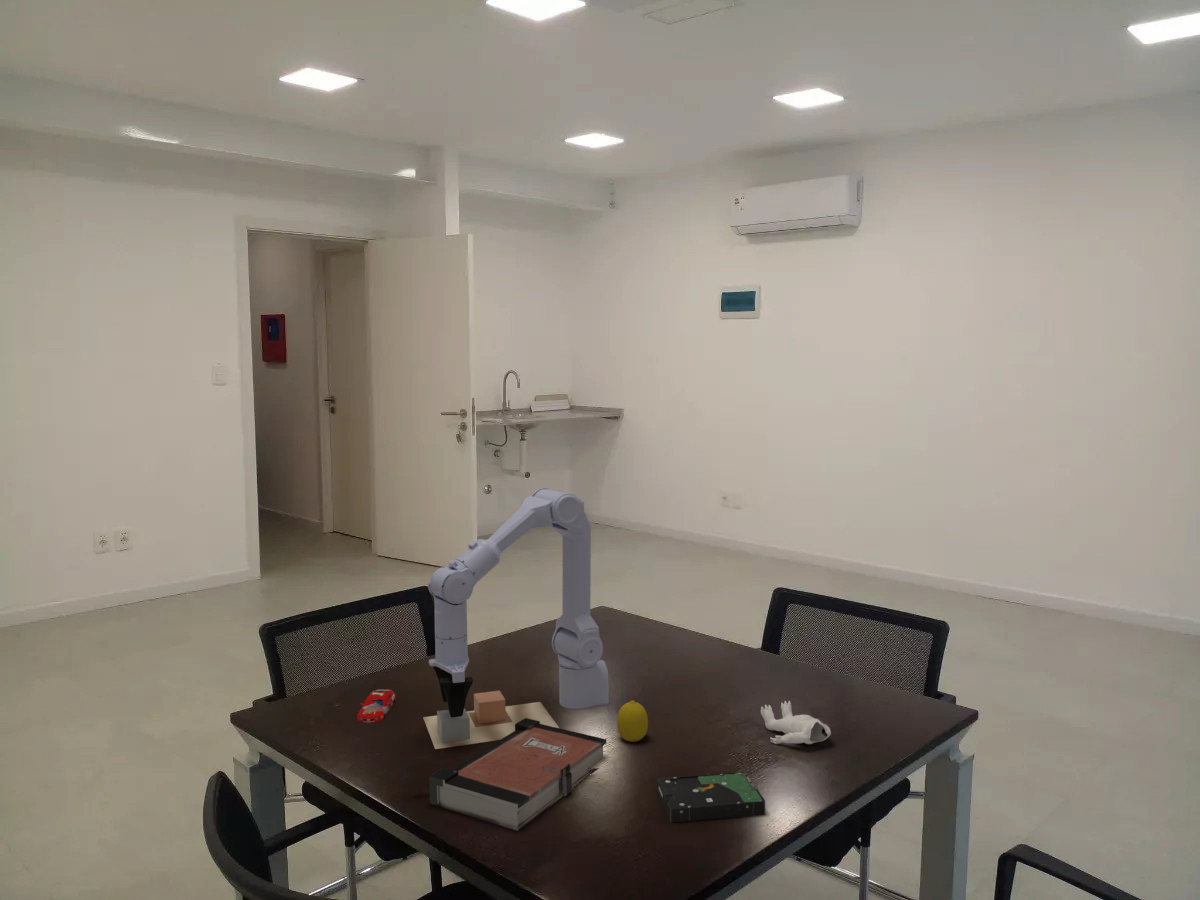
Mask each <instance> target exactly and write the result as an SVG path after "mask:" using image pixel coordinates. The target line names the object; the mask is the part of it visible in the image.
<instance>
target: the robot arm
mask: <svg viewBox="0 0 1200 900" xmlns="http://www.w3.org/2000/svg"><path fill="white" fill-rule="evenodd" d="M550 527H552V528H553V530H555V531H556V532H557V533H558V534H560V535H561V536H562V614H561V615H560V616H559V617H558V618H557V619H556V621H555V630H554V632H553V634H552V638H551V648H552V650H553V652H554V653H555V654H556V655H557V660H558V675H559V676H558V680H559V682H558V683H559V684H558V685H559V686H558V687H559V691H558V692H559V693H558V694H559V705H560V706H562V707H563V708H566V709H570V710H571V709H572V710H582V709H583V710H584V709H588V708H591V707H595V706H603V705H609V703H610V701H609V696H610V695H609V693H610V691H609V685H610V684H609V671H608V670H609V669H608V667H607V664H606V662H605V661H604V660H602V659H601V658H602V655H603V652H604V647H603V645H604V644H603V642H602V639H601V638H600V637H601V636H600V628H599V625H597V623H596V622H595V620H594V618H593V617H592V616H591V582H592V581H591V579H592V578H591V577H592V576H591V573H592V572H591V570H592V569H591V563H592V562H591V561H592V560H591V558H592V557H591V550H592V548H591V542H592V538H591V537H592V533H591V531H592V529H591V528H592V527H591V523H590V521H589V518H588V516H587V514H586V513H585V502H584V501H582V499H580V497H578V496H576V494H573V493H572V492H563V491H557V490H554V489H553V490H552V489H549V488H546V487H540V488H538V489H536V490H534V492H533V493H532V494H531V495H529V496H528V497H526V498H524V500H523V503H522V505H521V506H520V507H519V508H518V509H517V510H516V511H515V512H514V513H513V514H512V515H511V516H510V517H509V518H508V519H507V520H506V521H504V523H503V524H502V525H501V526H499V528H498V529H497V530H496V531H495V532H494V533H492V534H491V535H490V537H489V538H488V539H482V538H479V539H477V540H471V542H469V543H468V544H467V546H468V548H466V549H465V550H464V551H463V552H462V553H461V554H459V555H458V556H457V557H456V558H455V559H451V560H450V561H449V562H448V566H444V567H439V568H437V569H436V570H435V571H434V572H433V573H432V576H431V578H430V580H429V582H428V583H427V588H428V591H429V593H430V594H431V595H432V597H433V603H434V604H433V605H434V641H435V642H434V643H435V645H434V647H435V648H434V649H435V650H434V651H435V653H434V654H435V655H434V656H435V658H430V659H429V660H428V664H429V666H430V667H432V668H433V670H434V671H435V674H436V677H437V681H438V685H439V688H440V693H441V697H442V701H443V703H447V710H449V714H450V716H451V718H452V717H460V716H463V712H464V708H465V706H466V700H467V697H468V693H469V691H470V688H471V687H472V685H473V683H474V678H473V677H472V676H468V677H465V674H466V672H465V671H466V668H467V667H468V665H469V663H470V657H469V656H468V653H469V652H468V650H469V649H468V644H469V643H468V607H467V605H468V601H467V600H469V599H470V597H472V594H473V591H474V587H475V586H476V585H477V583H479V582H480V580H482V579H483V578H484V577H485V576H486V575H487V574H488V573H490V572H491V571H492V570H493V569H494V568H495V567H496V566H497V565H499V563H500V559H501V553H503V552H504V551H505V550H507V549H508V548H509V547H510V546H512V545H513V544H514V543H515V542H516V541H517V540H519V539H520V538H522V537H523V536H524V535H525V534H527V533H528V532H529V531H531V530H532V529H534V528H550Z"/></svg>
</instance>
